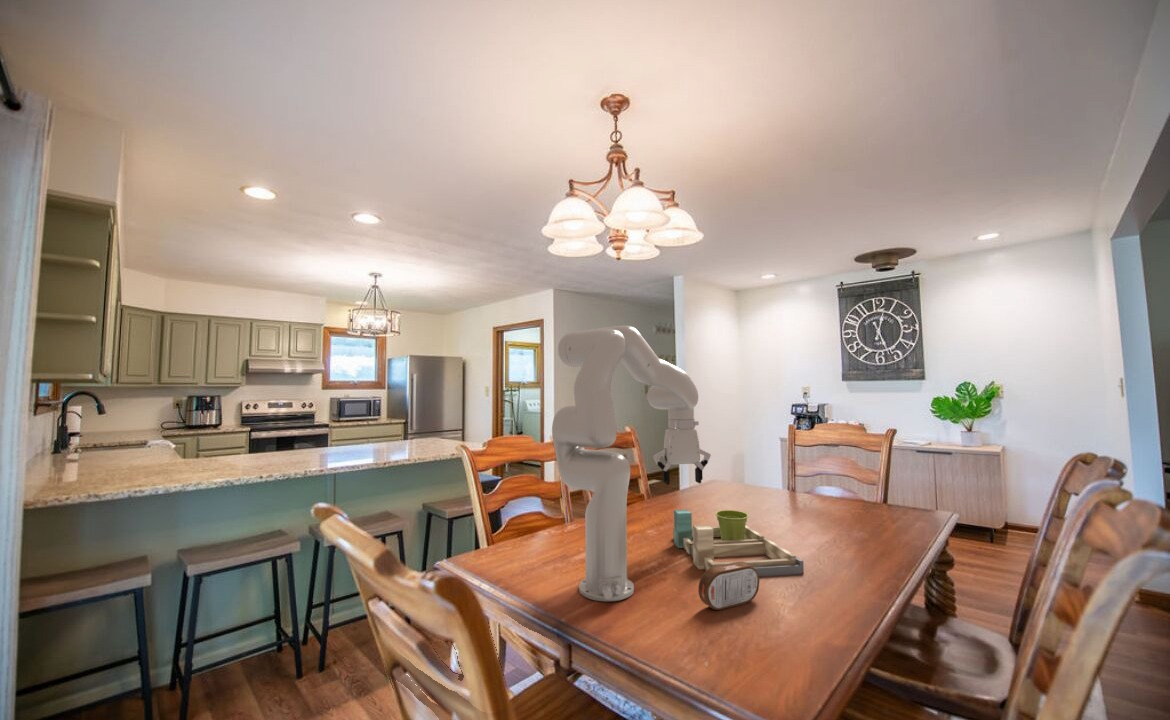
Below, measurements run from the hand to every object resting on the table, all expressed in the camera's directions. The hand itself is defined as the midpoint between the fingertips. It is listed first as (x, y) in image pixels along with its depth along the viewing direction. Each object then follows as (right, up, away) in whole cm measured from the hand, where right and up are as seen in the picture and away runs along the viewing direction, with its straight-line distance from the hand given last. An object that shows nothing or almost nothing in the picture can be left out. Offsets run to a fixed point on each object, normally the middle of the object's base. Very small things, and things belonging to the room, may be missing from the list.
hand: (682, 483), depth 141 cm
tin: (+2, -16, -39) cm, 43 cm away
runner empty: (+12, -17, -16) cm, 26 cm away
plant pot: (+15, -18, +1) cm, 24 cm away
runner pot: (+10, -18, 0) cm, 21 cm away
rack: (+11, -18, -8) cm, 22 cm away
